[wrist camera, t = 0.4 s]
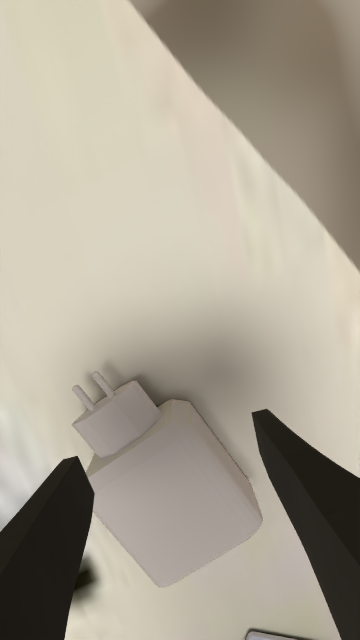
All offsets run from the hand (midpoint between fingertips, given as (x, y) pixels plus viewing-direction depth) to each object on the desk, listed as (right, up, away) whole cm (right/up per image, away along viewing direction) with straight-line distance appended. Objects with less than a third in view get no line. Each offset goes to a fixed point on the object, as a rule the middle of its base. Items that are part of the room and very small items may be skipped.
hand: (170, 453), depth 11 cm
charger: (-2, -4, +12) cm, 13 cm away
